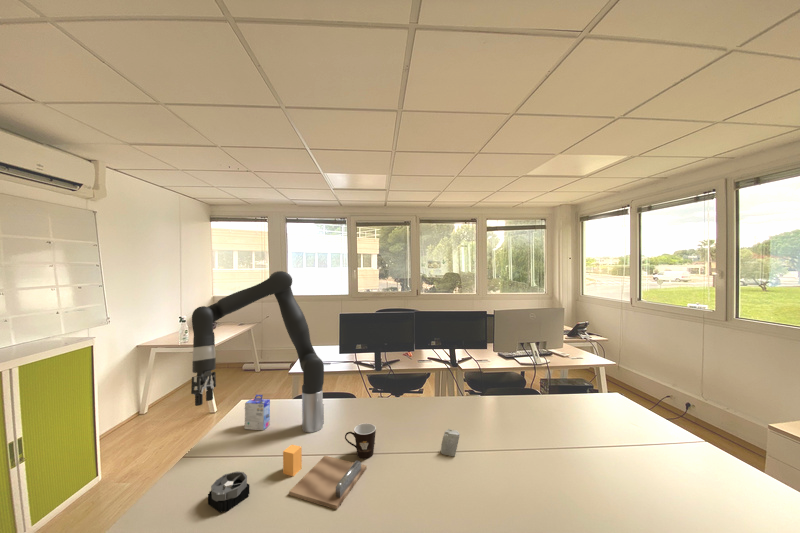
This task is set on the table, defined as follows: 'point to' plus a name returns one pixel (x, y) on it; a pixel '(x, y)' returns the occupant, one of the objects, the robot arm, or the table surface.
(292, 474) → the orange rectangular prism
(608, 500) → the table surface
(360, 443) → the coffee mug
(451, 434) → the mineral specimen
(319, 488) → the plate
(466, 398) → the table surface
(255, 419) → the ink cartridge box
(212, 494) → the cpu cooler
